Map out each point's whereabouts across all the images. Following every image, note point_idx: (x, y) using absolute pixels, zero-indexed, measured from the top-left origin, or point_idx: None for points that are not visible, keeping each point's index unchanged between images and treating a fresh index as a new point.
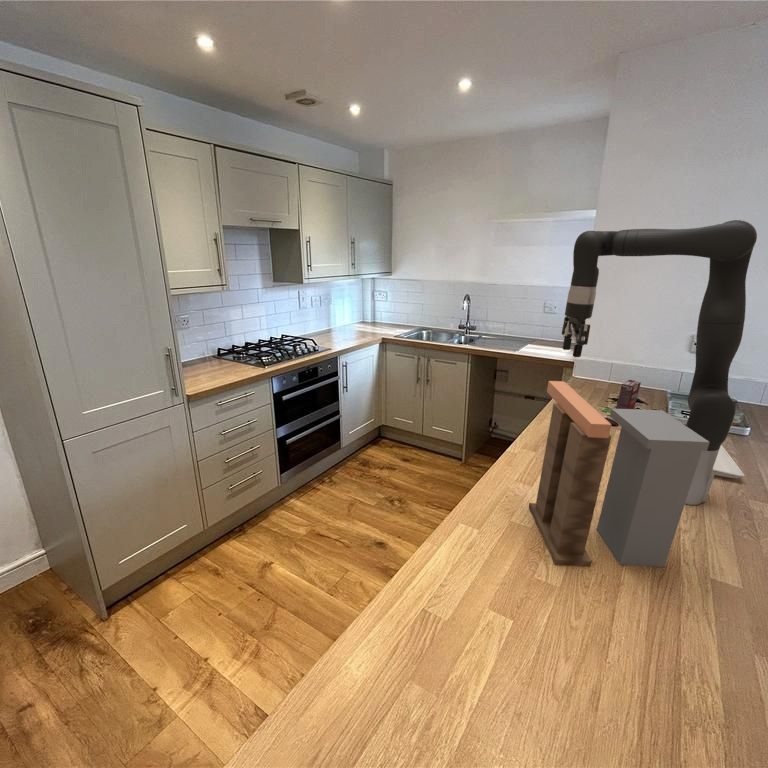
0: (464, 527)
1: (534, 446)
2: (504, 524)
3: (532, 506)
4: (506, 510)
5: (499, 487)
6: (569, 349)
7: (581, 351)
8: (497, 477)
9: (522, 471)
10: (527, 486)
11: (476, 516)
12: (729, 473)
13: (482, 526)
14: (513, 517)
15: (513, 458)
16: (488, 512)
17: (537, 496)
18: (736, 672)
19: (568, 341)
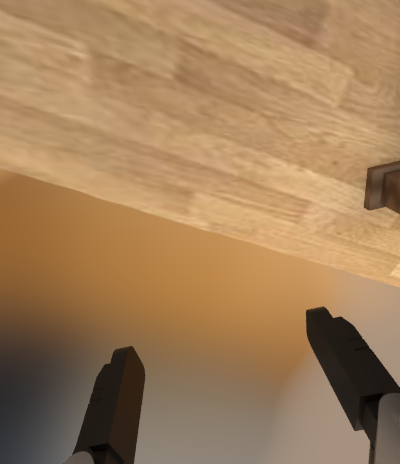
0: (397, 270)
1: (171, 192)
2: (396, 234)
3: (377, 206)
4: (368, 232)
5: (317, 242)
6: (131, 347)
7: (344, 338)
8: (291, 245)
9: (268, 213)
10: (311, 207)
11: (379, 261)
12: None
13: (397, 254)
14: (383, 224)
15: (229, 226)
16: (372, 251)
17: (395, 211)
18: None
19: (124, 424)
